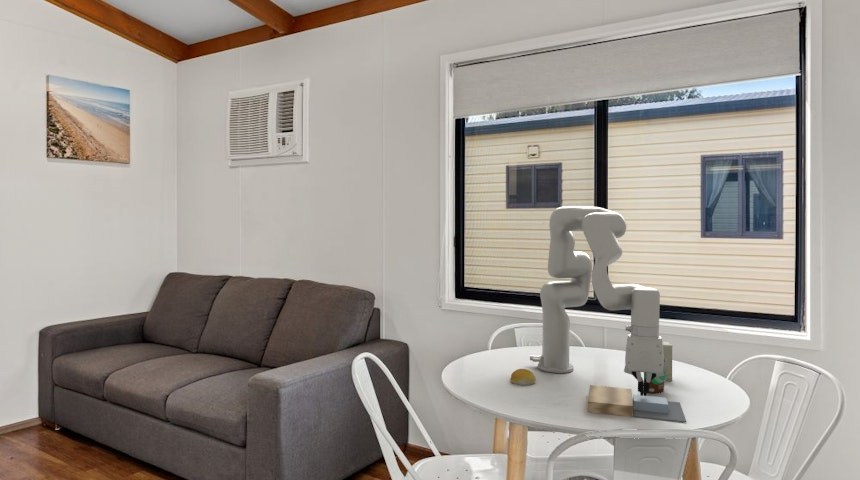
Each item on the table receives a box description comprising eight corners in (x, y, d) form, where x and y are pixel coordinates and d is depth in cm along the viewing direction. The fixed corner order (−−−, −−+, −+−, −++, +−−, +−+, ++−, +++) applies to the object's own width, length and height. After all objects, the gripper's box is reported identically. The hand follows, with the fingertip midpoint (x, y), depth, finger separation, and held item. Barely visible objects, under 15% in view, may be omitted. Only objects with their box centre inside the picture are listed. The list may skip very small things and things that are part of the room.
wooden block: (587, 411, 157) (587, 401, 157) (589, 394, 172) (590, 384, 172) (632, 416, 153) (632, 406, 153) (631, 398, 168) (631, 388, 168)
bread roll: (509, 385, 181) (509, 373, 181) (511, 377, 190) (511, 366, 190) (535, 387, 180) (535, 374, 180) (536, 379, 189) (536, 367, 188)
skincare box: (672, 381, 186) (673, 345, 185) (658, 380, 187) (659, 344, 186) (668, 376, 192) (669, 341, 191) (654, 375, 193) (655, 340, 192)
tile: (633, 409, 157) (633, 400, 157) (632, 402, 163) (633, 394, 163) (668, 413, 155) (668, 404, 155) (666, 406, 160) (666, 397, 160)
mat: (634, 417, 153) (634, 415, 153) (632, 398, 168) (632, 397, 168) (686, 422, 149) (686, 421, 149) (679, 403, 164) (679, 402, 164)
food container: (664, 397, 169) (664, 365, 169) (642, 394, 172) (643, 362, 172) (670, 387, 180) (671, 356, 179) (650, 384, 183) (651, 354, 182)
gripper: (617, 331, 157) (615, 395, 158) (674, 335, 153) (672, 401, 153) (617, 326, 164) (615, 388, 165) (671, 330, 160) (670, 393, 161)
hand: (643, 394), depth 159 cm, fingers closed
